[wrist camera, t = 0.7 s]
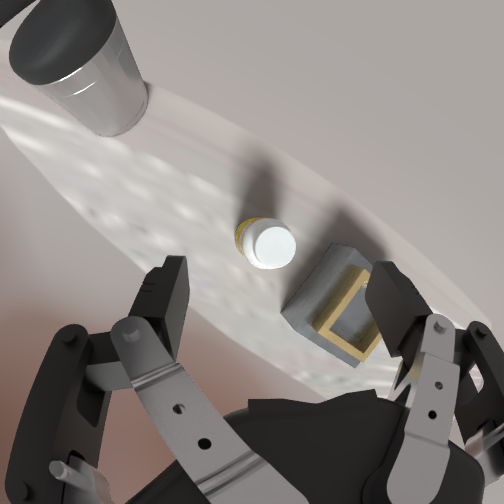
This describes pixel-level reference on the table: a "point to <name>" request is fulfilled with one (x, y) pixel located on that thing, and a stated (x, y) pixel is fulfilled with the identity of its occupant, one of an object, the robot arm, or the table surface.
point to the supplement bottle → (265, 242)
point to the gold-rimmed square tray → (336, 306)
